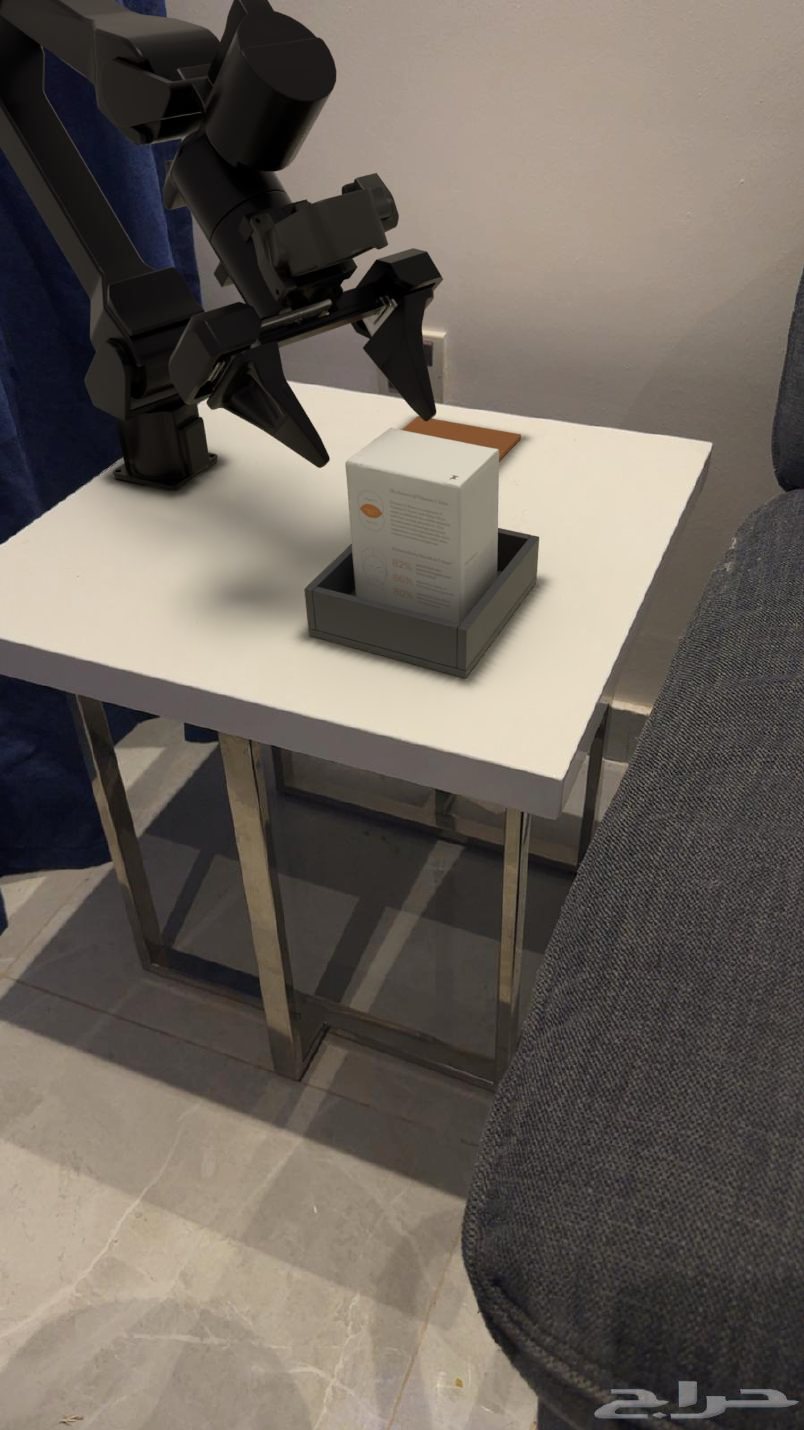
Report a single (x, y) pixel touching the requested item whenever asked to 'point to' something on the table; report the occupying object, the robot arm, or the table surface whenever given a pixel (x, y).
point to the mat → (465, 434)
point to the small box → (424, 522)
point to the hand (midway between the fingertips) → (380, 440)
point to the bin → (417, 633)
